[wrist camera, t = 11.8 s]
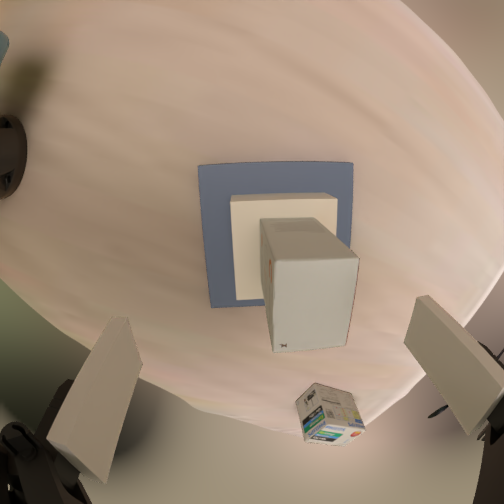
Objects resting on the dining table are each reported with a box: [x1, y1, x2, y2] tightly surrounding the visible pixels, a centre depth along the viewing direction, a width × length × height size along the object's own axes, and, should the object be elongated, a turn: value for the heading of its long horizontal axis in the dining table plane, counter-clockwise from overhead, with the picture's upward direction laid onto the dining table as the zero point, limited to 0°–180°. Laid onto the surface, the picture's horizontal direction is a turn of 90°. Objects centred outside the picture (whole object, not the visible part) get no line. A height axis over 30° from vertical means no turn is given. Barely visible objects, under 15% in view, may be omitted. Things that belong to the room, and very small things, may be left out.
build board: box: [198, 161, 353, 308], centre depth 35 cm, size 20×20×6 cm
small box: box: [260, 217, 360, 353], centre depth 26 cm, size 8×6×13 cm
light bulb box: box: [296, 383, 366, 446], centre depth 45 cm, size 11×7×11 cm, turn 60°
